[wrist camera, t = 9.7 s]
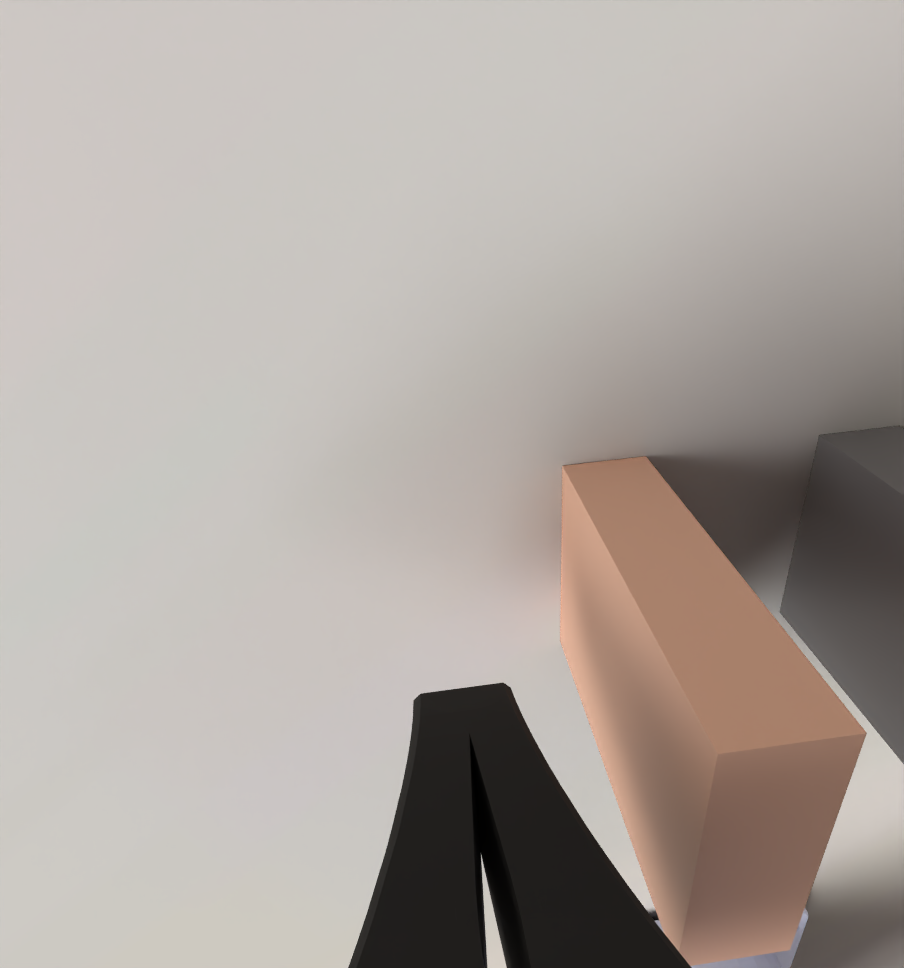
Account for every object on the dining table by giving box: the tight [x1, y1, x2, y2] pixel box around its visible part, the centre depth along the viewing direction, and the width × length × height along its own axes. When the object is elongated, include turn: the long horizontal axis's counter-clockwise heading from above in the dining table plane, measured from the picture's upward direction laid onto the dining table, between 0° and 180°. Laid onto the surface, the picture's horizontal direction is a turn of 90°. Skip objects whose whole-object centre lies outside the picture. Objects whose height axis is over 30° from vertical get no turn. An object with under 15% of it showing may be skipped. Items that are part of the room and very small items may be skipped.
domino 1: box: [560, 456, 867, 966], centre depth 11 cm, size 2×4×6 cm, turn 4°
